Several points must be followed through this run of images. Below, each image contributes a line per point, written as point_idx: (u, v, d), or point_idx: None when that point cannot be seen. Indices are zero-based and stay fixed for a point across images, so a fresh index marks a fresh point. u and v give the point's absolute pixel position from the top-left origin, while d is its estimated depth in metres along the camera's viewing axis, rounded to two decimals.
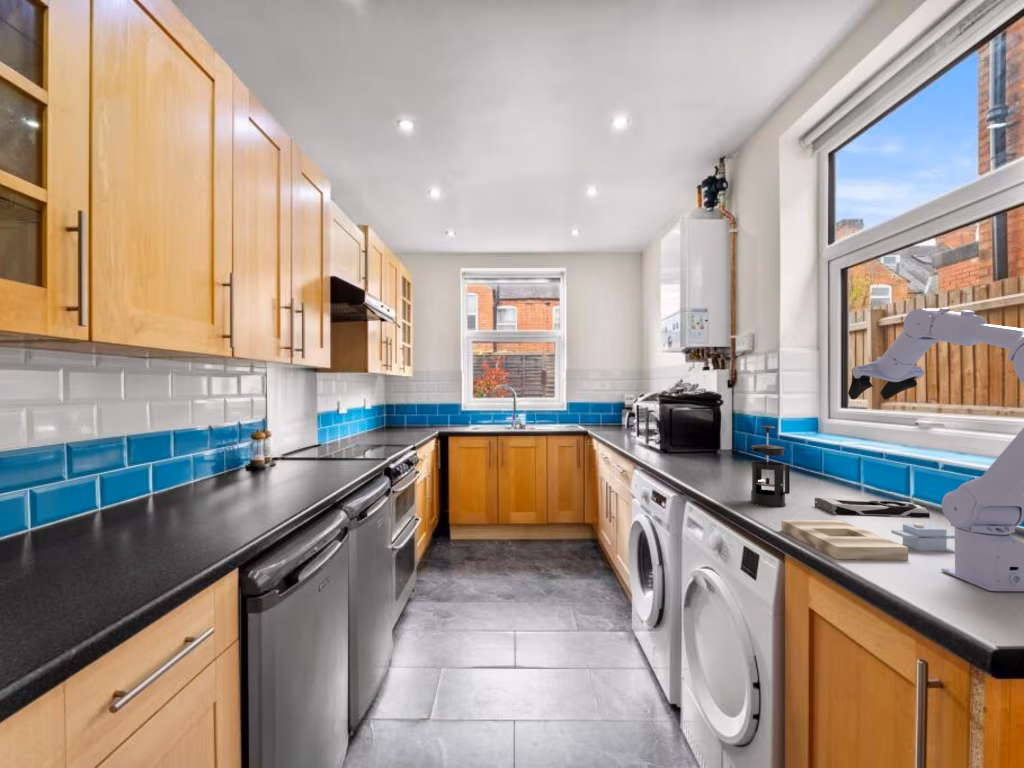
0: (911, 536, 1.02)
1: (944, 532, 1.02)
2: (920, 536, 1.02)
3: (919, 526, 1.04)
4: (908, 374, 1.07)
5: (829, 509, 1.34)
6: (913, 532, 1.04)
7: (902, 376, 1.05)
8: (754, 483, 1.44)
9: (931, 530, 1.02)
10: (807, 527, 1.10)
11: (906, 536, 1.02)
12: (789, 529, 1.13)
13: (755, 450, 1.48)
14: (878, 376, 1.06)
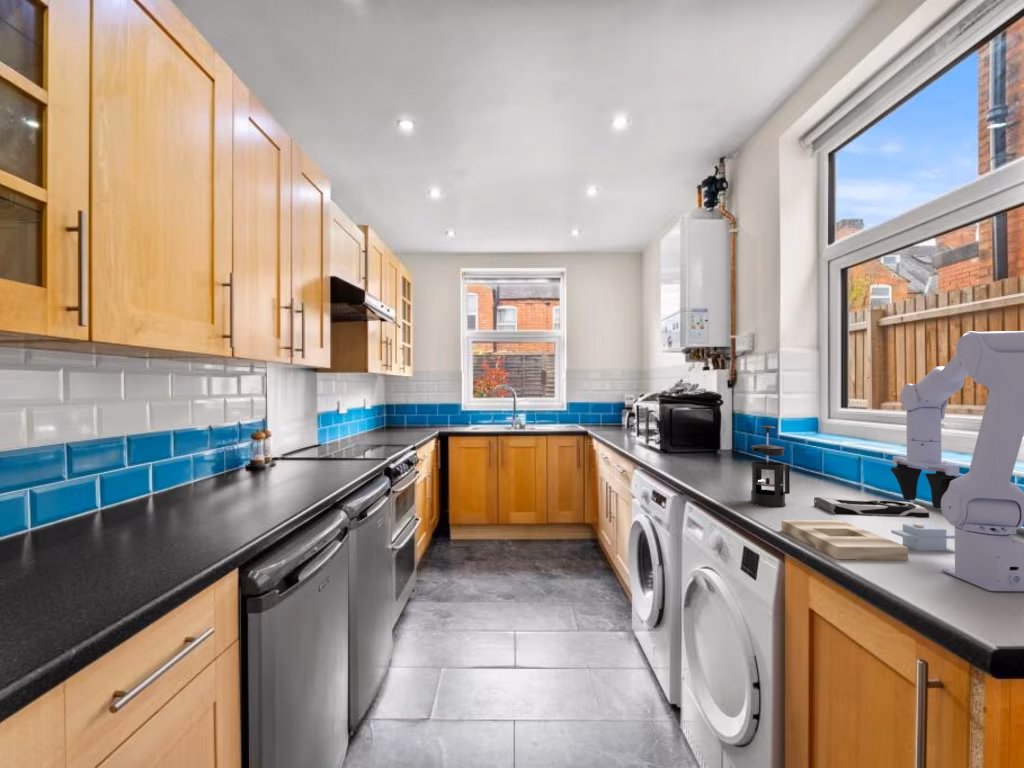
0: (911, 536, 1.02)
1: (944, 532, 1.02)
2: (920, 536, 1.02)
3: (919, 526, 1.04)
4: None
5: (828, 508, 1.35)
6: (913, 532, 1.04)
7: (914, 458, 1.04)
8: (754, 483, 1.44)
9: (931, 530, 1.02)
10: (807, 527, 1.10)
11: (906, 536, 1.02)
12: (789, 529, 1.13)
13: (755, 450, 1.48)
14: (901, 459, 1.08)
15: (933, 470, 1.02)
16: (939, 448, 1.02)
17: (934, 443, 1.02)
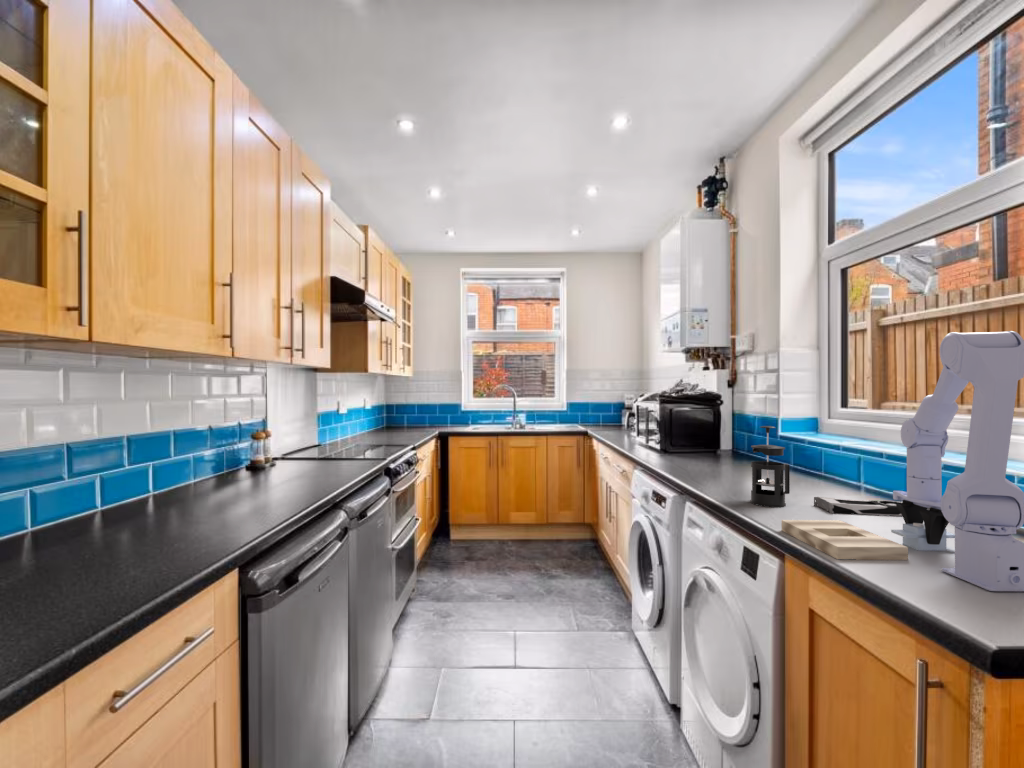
0: (911, 536, 1.02)
1: (944, 531, 1.02)
2: (920, 535, 1.02)
3: (919, 525, 1.04)
4: None
5: (827, 508, 1.36)
6: (913, 532, 1.04)
7: (915, 495, 1.04)
8: (754, 483, 1.44)
9: None
10: (807, 527, 1.10)
11: (906, 535, 1.02)
12: (789, 529, 1.13)
13: (755, 450, 1.48)
14: (901, 495, 1.08)
15: None
16: (939, 486, 1.02)
17: (934, 481, 1.02)
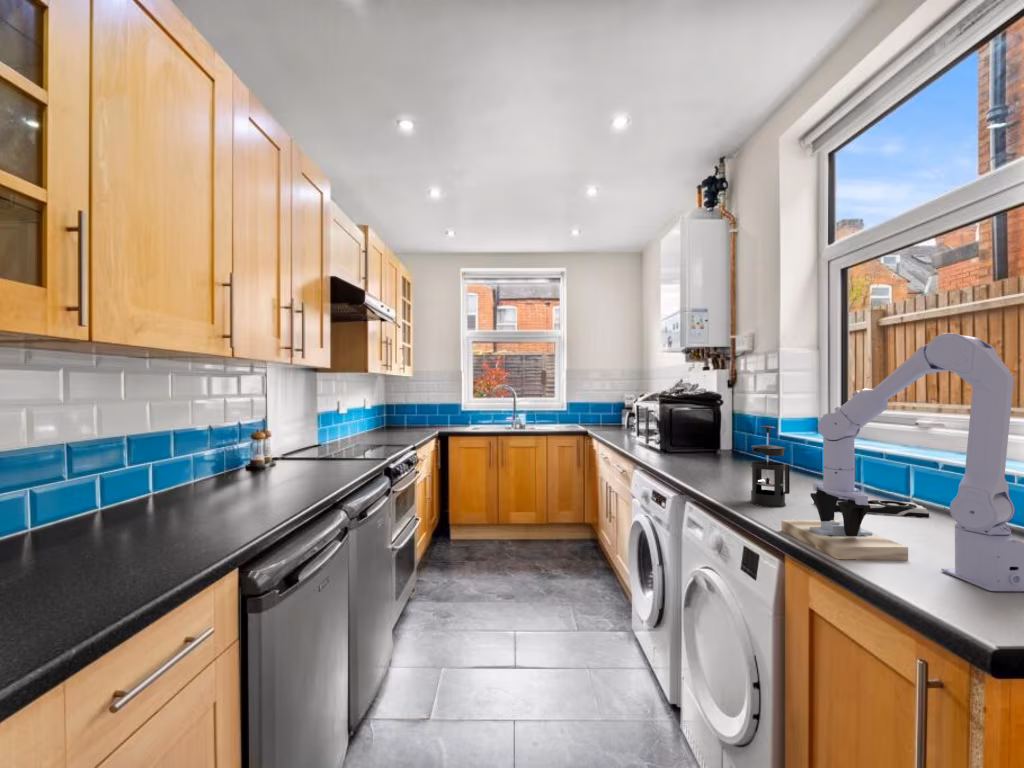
0: (826, 533, 1.04)
1: None
2: (835, 533, 1.04)
3: (835, 523, 1.06)
4: None
5: None
6: (829, 529, 1.05)
7: (829, 486, 1.06)
8: (754, 483, 1.44)
9: None
10: (807, 527, 1.10)
11: (821, 533, 1.04)
12: (789, 529, 1.13)
13: (755, 450, 1.48)
14: (819, 486, 1.10)
15: (846, 498, 1.04)
16: (852, 476, 1.04)
17: (847, 472, 1.04)
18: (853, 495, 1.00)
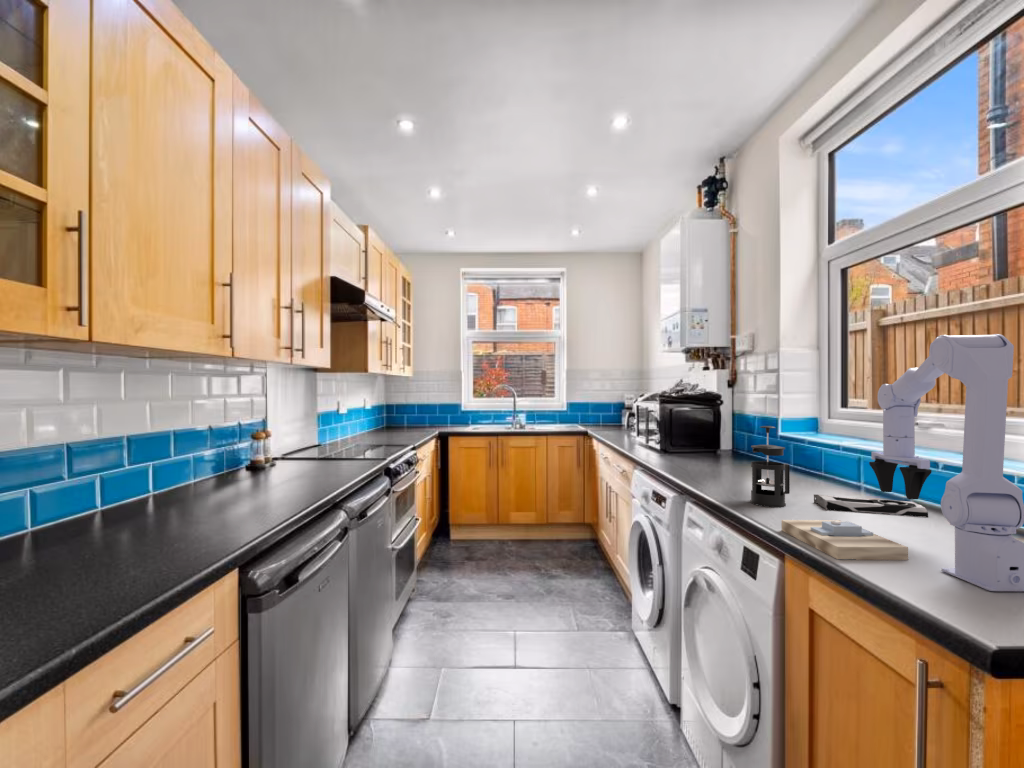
0: (827, 533, 1.04)
1: (859, 529, 1.04)
2: (836, 533, 1.04)
3: (836, 523, 1.05)
4: None
5: (823, 505, 1.39)
6: (830, 529, 1.05)
7: (890, 453, 1.12)
8: (754, 483, 1.44)
9: (847, 527, 1.04)
10: (807, 527, 1.10)
11: (822, 533, 1.04)
12: (789, 529, 1.13)
13: (755, 450, 1.48)
14: (879, 454, 1.16)
15: (907, 464, 1.10)
16: (912, 443, 1.10)
17: (908, 439, 1.10)
18: (915, 460, 1.07)
